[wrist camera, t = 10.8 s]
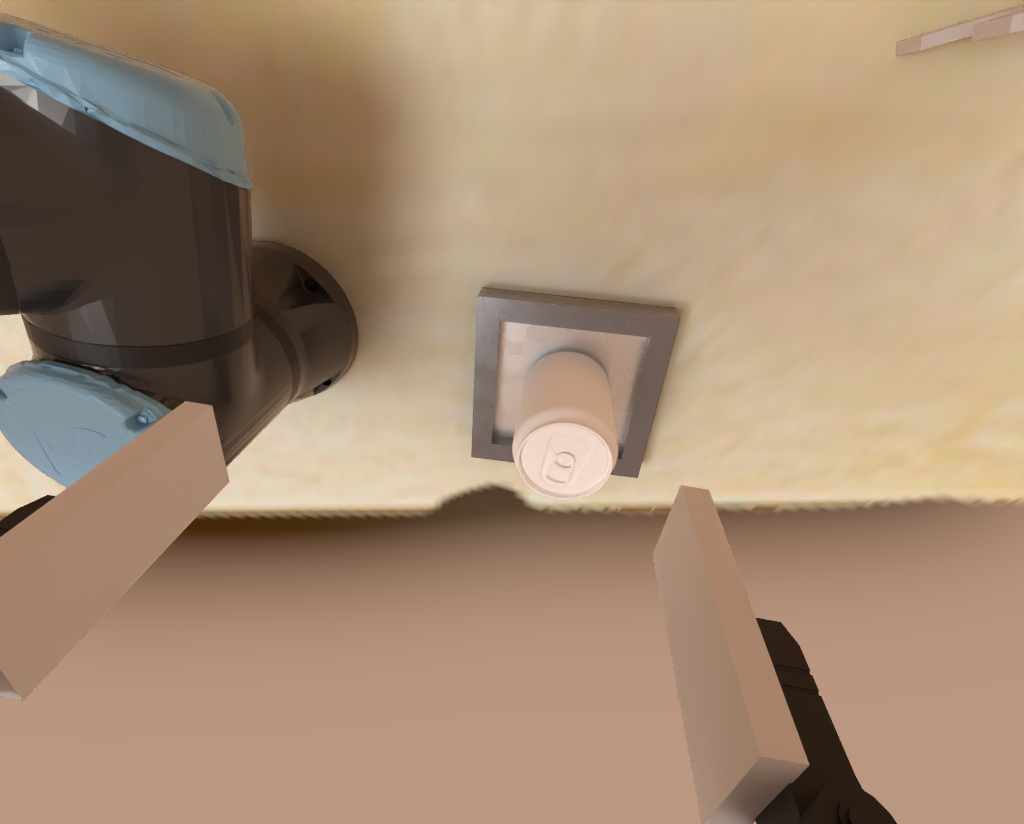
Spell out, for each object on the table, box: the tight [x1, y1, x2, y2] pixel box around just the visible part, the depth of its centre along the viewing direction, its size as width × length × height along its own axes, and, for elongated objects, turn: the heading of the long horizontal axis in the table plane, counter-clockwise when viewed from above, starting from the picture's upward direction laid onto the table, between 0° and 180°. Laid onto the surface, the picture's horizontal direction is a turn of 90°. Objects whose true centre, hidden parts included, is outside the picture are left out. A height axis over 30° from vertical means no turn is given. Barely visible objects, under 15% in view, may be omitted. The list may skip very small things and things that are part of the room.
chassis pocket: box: [471, 287, 680, 478], centre depth 47 cm, size 17×17×2 cm
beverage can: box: [512, 351, 618, 500], centre depth 42 cm, size 8×8×12 cm
